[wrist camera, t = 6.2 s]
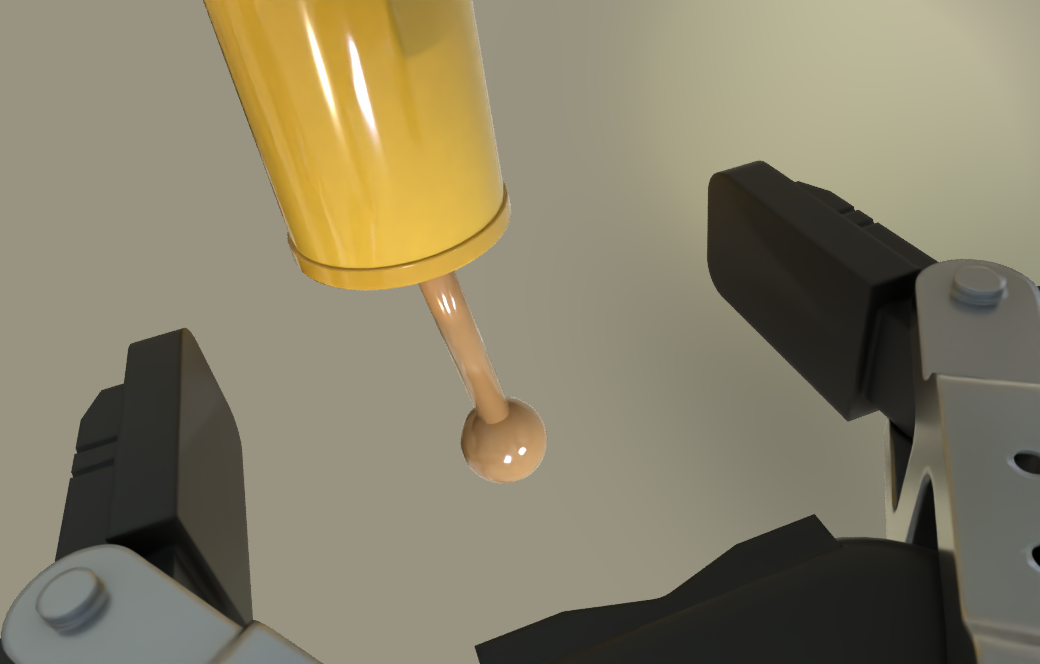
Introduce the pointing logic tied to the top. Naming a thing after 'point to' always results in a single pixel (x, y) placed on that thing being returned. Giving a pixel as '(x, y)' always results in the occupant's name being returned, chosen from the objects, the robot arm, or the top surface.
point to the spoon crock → (386, 169)
